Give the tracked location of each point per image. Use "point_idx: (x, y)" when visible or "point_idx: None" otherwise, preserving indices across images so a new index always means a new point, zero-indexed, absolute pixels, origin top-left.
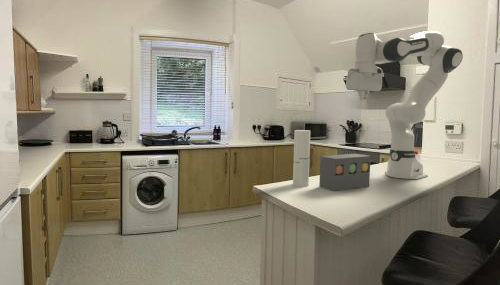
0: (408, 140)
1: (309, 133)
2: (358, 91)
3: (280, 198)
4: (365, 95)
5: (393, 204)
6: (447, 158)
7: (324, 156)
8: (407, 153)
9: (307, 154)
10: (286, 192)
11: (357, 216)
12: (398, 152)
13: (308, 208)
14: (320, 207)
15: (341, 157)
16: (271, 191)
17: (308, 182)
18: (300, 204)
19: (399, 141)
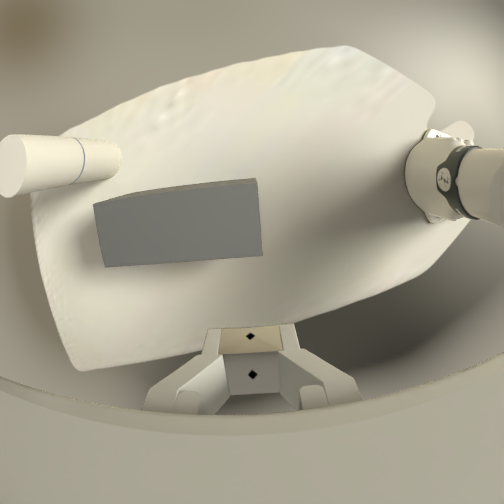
0: (492, 221)
1: (24, 190)
2: (146, 408)
3: (39, 249)
4: (288, 387)
5: (190, 352)
6: None
7: (99, 216)
8: (463, 214)
9: (63, 185)
10: (56, 214)
11: (105, 362)
12: (453, 193)
13: (60, 310)
14: (74, 314)
15: (136, 252)
16: (39, 198)
17: (113, 172)
18: (55, 290)
19: (479, 198)
